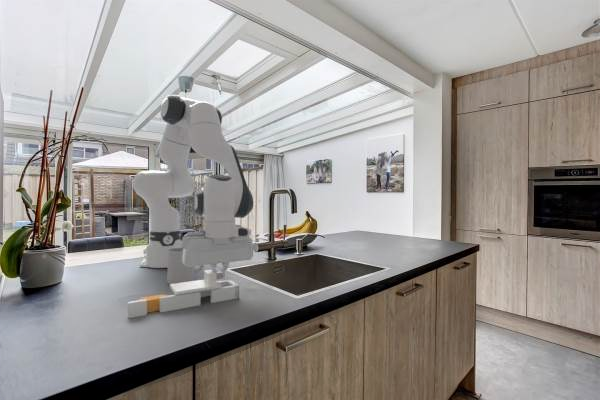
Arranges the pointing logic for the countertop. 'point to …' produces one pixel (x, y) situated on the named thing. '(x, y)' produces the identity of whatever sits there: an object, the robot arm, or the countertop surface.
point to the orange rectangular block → (153, 302)
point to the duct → (186, 299)
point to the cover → (197, 284)
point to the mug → (179, 268)
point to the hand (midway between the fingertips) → (219, 278)
